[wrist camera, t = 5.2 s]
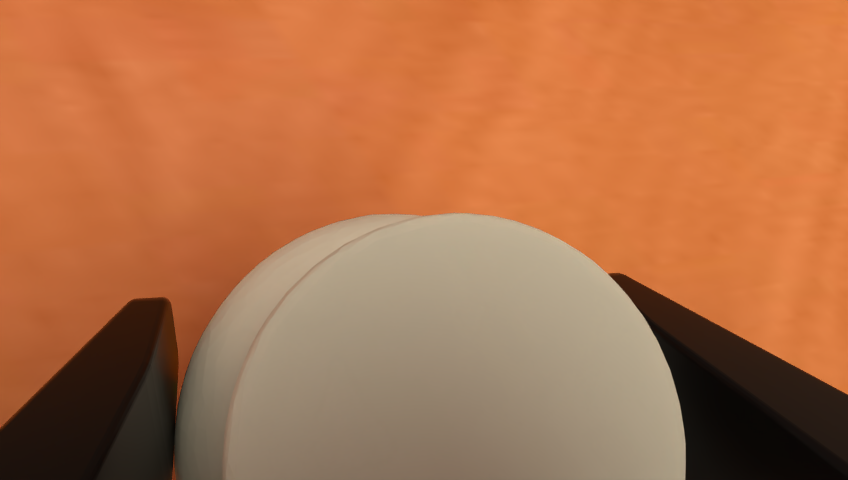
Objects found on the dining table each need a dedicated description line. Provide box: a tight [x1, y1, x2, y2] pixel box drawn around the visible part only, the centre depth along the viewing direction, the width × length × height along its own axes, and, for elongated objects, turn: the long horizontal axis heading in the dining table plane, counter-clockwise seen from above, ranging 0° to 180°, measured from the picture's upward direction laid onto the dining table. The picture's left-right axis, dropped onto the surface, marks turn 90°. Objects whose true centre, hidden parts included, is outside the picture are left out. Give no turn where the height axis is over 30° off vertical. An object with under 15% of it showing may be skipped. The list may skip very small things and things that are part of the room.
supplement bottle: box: [174, 213, 686, 480], centre depth 10 cm, size 5×5×10 cm
